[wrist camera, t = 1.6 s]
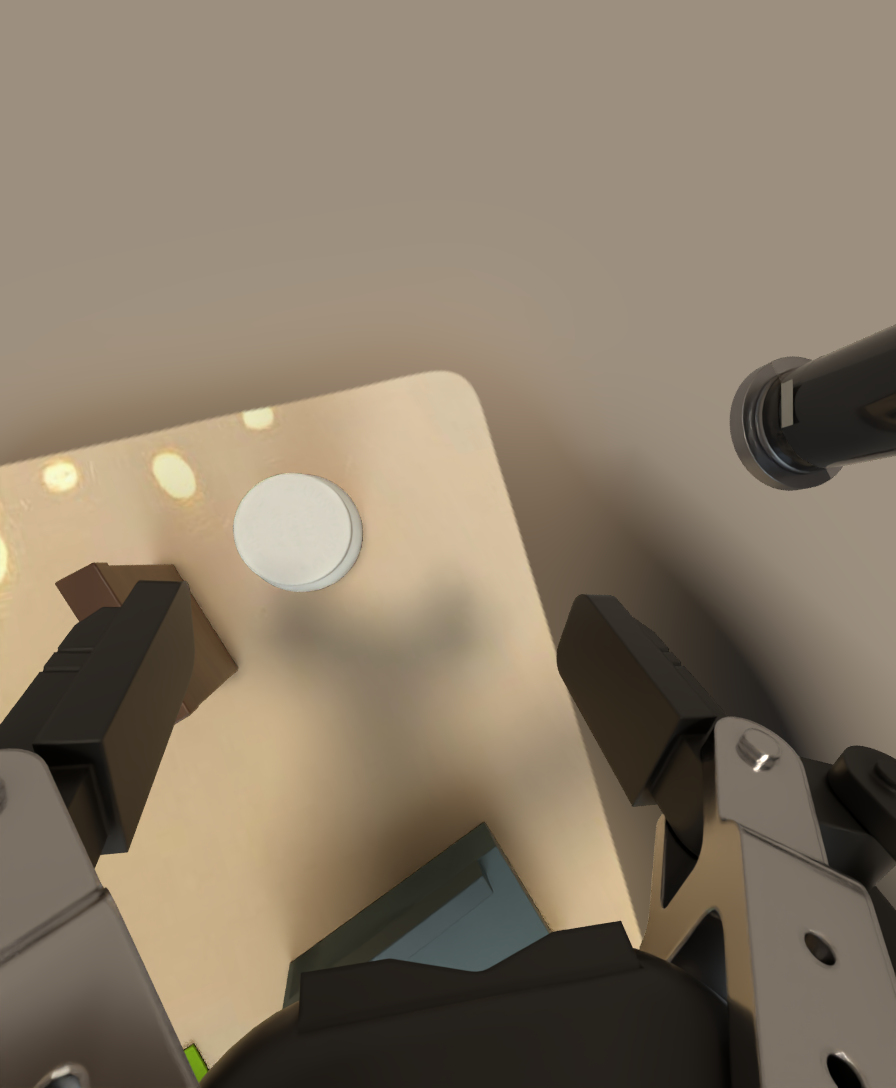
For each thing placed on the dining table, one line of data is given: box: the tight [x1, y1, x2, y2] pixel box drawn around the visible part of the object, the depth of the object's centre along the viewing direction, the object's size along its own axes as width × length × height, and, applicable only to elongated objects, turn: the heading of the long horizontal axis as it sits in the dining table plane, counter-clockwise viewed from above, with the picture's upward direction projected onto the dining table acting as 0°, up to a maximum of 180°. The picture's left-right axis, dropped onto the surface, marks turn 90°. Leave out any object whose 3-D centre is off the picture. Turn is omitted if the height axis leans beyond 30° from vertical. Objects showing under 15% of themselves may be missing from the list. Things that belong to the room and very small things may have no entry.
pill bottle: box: [233, 473, 363, 592], centre depth 27 cm, size 6×6×11 cm
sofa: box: [283, 822, 551, 1009], centre depth 29 cm, size 15×12×8 cm
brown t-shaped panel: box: [55, 563, 238, 725], centre depth 26 cm, size 2×8×10 cm, turn 31°
